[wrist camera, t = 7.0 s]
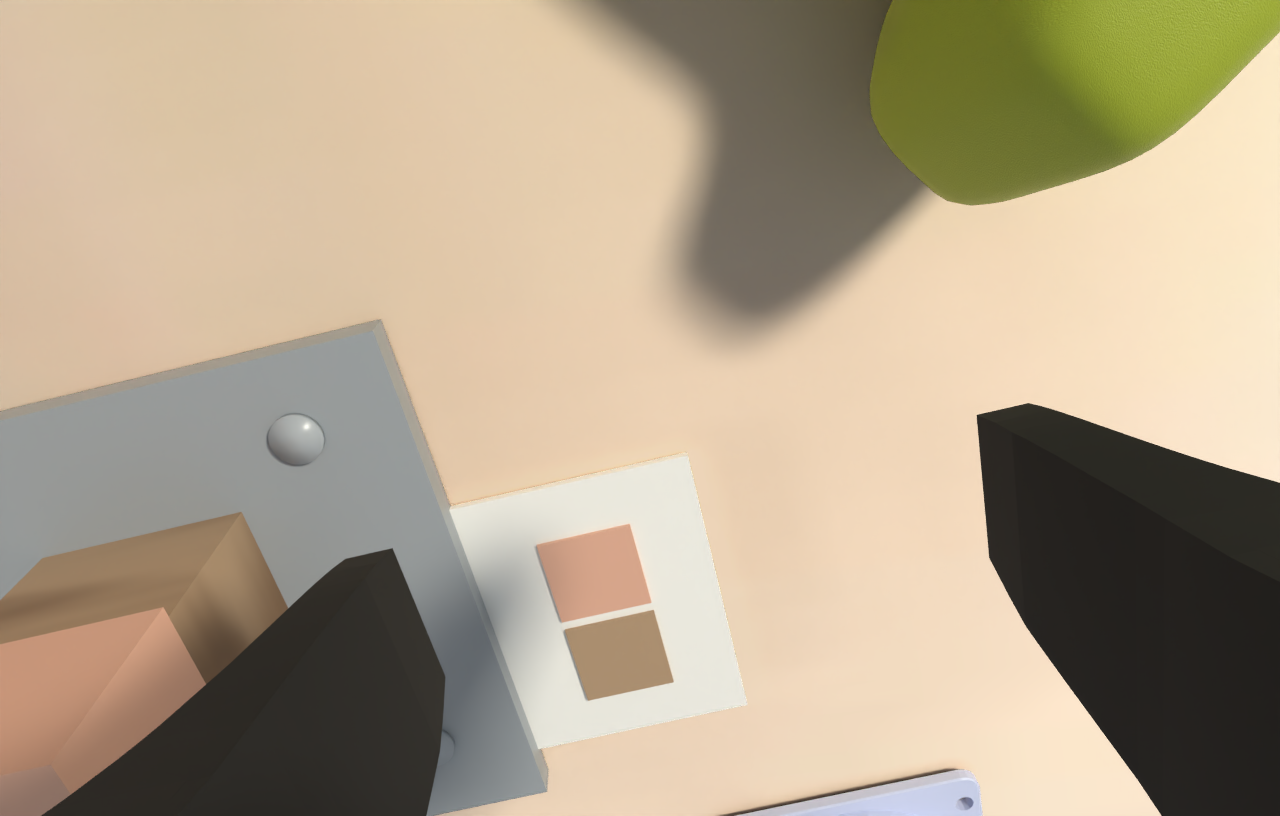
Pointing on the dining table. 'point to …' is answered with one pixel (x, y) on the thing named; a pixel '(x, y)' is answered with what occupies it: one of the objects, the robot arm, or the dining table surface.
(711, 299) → the dining table surface
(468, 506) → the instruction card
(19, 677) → the terracotta block
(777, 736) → the dining table surface
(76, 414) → the build plate
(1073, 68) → the dumbbell
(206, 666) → the walnut block
